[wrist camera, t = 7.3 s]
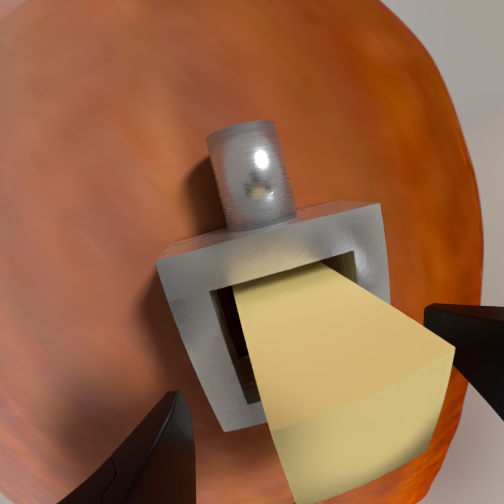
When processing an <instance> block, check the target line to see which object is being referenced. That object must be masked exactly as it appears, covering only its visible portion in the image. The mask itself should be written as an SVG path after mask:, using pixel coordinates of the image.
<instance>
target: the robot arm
mask: <svg viewBox="0 0 504 504" xmlns="http://www.w3.org/2000/svg"><path fill="white" fill-rule="evenodd" d="M423 326H424V327H425V328H427V329H428V330H430V331H431V332H433V333H434V334H436V335H437V336H439V337H440V338H442V339H443V340H445V341H446V342H448V343H449V344H451V345H452V346H454V347H455V353H454V358H453V363H452V365H453V366H454V367H455V368H456V369H457V370H458V371H459V372H460V373H461V374H462V375H463V376H464V377H465V378H466V379H467V380H468V381H469V383H470V384H471V385H472V386H473V387H474V388H475V389H476V390H477V391H478V392H479V393H480V395H482V397H483V398H484V399H485V400H486V401H487V402H488V404H489V405H490V406H491V407H492V408H493V409H494V410H495V412H496V413H497V414H498V415H499V416H500V417H501V419H502V420H503V421H504V307H497V306H474V305H456V304H440V303H433V304H430V305H429V306H427V307H426V308H425V309H424V324H423ZM57 504H196V471H195V445H194V437H193V429H192V421H191V413H190V409H189V407H188V405H187V403H186V401H185V399H184V397H183V395H182V393H181V392H180V391H178V390H176V391H170V392H167V393H166V394H165V395H164V396H163V397H162V399H161V400H160V401H159V402H158V403H157V404H156V405H155V407H154V408H153V409H152V410H151V411H150V412H149V413H148V415H147V416H146V417H145V418H144V419H143V420H142V421H141V422H140V424H139V425H138V426H137V427H136V428H135V429H134V430H133V431H132V432H131V434H130V435H129V436H128V437H127V438H126V439H125V440H124V441H123V442H122V443H121V445H120V446H119V447H118V448H117V449H116V450H115V451H114V452H113V453H112V454H111V457H109V458H108V459H107V460H106V461H105V462H104V463H103V464H102V465H101V466H100V467H99V468H98V469H97V470H96V471H95V472H94V473H93V474H92V475H91V476H90V477H89V478H87V479H86V480H85V481H84V482H83V483H82V484H81V485H79V486H78V487H77V488H76V489H75V490H73V491H72V492H71V493H70V494H68V495H67V496H66V497H65V498H64V499H62V500H61V501H60V502H58V503H57Z"/></svg>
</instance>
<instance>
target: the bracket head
mask: <svg viewBox="0 0 504 504" xmlns="http://www.w3.org/2000/svg"><path fill="white" fill-rule="evenodd" d="M206 143H207V147H208V152H209V156H210V160H211V164H212V168H213V172H214V176H215V180H216V184H217V188H218V192H219V196H220V200H221V204H222V208H223V212H224V216H225V220H226V224H227V228H224V229H220V230H216V231H212V232H209V233H205V234H201V235H198V236H194V237H190V238H187V239H183V240H180V241H176V242H172V243H171V244H170V245H169V246H168V247H167V248H166V249H165V250H164V251H163V252H162V253H161V255H160V256H159V257H158V258H157V259H156V260H155V264H156V268H157V271H158V274H159V277H160V280H161V283H162V286H163V289H164V292H165V295H166V298H167V300H168V303H169V306H170V309H171V312H172V314H173V317H174V320H175V322H176V325H177V328H178V330H179V333H180V335H181V338H182V340H183V343H184V345H185V348H186V350H187V353H188V355H189V358H190V360H191V362H192V365H193V367H194V369H195V372H196V374H197V376H198V379H199V381H200V383H201V385H202V387H203V390H204V392H205V394H206V396H207V398H208V400H209V403H210V405H211V407H212V409H213V411H214V413H215V415H216V417H217V419H218V421H219V423H220V425H221V427H222V429H223V431H224V432H229V431H233V430H238V429H242V428H247V427H251V426H255V425H259V424H263V423H266V422H267V419H266V415H265V412H264V408H263V404H262V401H261V397H260V394H259V390H258V386H257V383H256V379H255V375H254V371H253V368H252V364H251V360H250V356H249V355H247V356H243V357H240V358H238V356H237V353H236V350H235V347H234V344H233V340H232V337H231V334H230V331H229V328H228V325H227V322H226V318H225V315H224V312H223V309H222V305H221V302H220V299H219V296H218V292H217V289H219V288H223V287H227V286H231V285H234V284H238V283H242V282H245V281H249V280H253V279H256V278H260V277H263V276H267V275H270V274H274V273H278V272H281V271H285V270H288V269H292V268H295V267H298V266H302V265H305V264H309V263H312V262H316V261H319V260H321V263H323V264H324V265H326V266H327V267H329V268H331V269H332V270H334V271H336V272H337V273H339V274H341V275H342V276H344V277H346V278H347V279H349V280H351V281H352V282H354V283H355V284H357V285H359V286H360V287H362V288H364V289H365V290H367V291H368V292H370V293H372V294H373V295H375V296H376V297H378V298H380V299H381V300H383V301H384V302H386V303H388V304H389V305H390V288H389V274H388V262H387V252H386V243H385V235H384V227H383V220H382V213H381V207H380V203H374V202H357V201H333V202H328V203H324V204H320V205H315V206H311V207H307V208H303V209H299V210H296V206H295V202H294V197H293V193H292V188H291V184H290V180H289V176H288V172H287V167H286V163H285V159H284V155H283V151H282V147H281V143H280V140H279V136H278V132H277V128H276V125H275V122H273V121H252V122H246V123H241V124H237V125H233V126H230V127H227V128H224V129H221V130H219V131H216V132H214V133H212V134H211V135H209V136H208V137H207V138H206Z"/></svg>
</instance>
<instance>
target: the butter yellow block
mask: <svg viewBox="0 0 504 504" xmlns="http://www.w3.org/2000/svg"><path fill="white" fill-rule="evenodd" d="M232 289H233V293H234V297H235V301H236V305H237V309H238V313H239V317H240V321H241V325H242V329H243V333H244V337H245V341H246V345H247V349H248V353H249V356H250V360H251V364H252V368H253V371H254V375H255V379H256V383H257V386H258V390H259V394H260V397H261V401H262V404H263V408H264V412H265V415H266V419H267V422H268V426H269V429H270V432H271V435H272V438H273V441H274V444H275V447H276V450H277V453H278V456H279V459H280V461H281V464H282V467H283V470H284V473H285V476H286V478H287V481H288V484H289V487H290V489H291V492H292V495H293V497H294V500H295V503H296V504H314V503H317V502H320V501H323V500H326V499H329V498H332V497H334V496H337V495H340V494H342V493H345V492H347V491H350V490H352V489H355V488H357V487H359V486H362V485H364V484H366V483H368V482H370V481H373V480H375V479H377V478H379V477H381V476H383V475H385V474H387V473H389V472H391V471H393V470H394V469H396V468H398V467H400V466H402V465H403V464H405V463H407V462H409V461H410V460H412V459H414V458H415V457H417V456H419V455H420V454H422V453H423V452H425V451H427V448H428V446H429V443H430V440H431V438H432V435H433V432H434V429H435V426H436V424H437V420H438V417H439V414H440V411H441V408H442V404H443V401H444V397H445V393H446V390H447V386H448V381H449V377H450V373H451V368H452V363H453V358H454V353H455V347H454V346H452V345H451V344H449V343H448V342H446V341H445V340H443V339H442V338H440V337H439V336H437V335H436V334H434V333H433V332H431V331H430V330H428V329H427V328H425V327H424V326H422V325H420V324H419V323H417V322H416V321H414V320H413V319H411V318H410V317H408V316H406V315H405V314H403V313H402V312H400V311H399V310H397V309H395V308H394V307H392V306H391V305H389V304H388V303H386V302H384V301H383V300H381V299H380V298H378V297H376V296H375V295H373V294H372V293H370V292H368V291H367V290H365V289H364V288H362V287H360V286H359V285H357V284H355V283H354V282H352V281H351V280H349V279H347V278H346V277H344V276H342V275H341V274H339V273H337V272H336V271H334V270H332V269H331V268H329V267H327V266H326V265H324V264H323V263H321V262H319V261H316V262H312V263H309V264H305V265H302V266H298V267H295V268H292V269H288V270H285V271H281V272H278V273H274V274H270V275H267V276H263V277H260V278H256V279H253V280H249V281H245V282H242V283H238V284H234V285H232Z"/></svg>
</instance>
